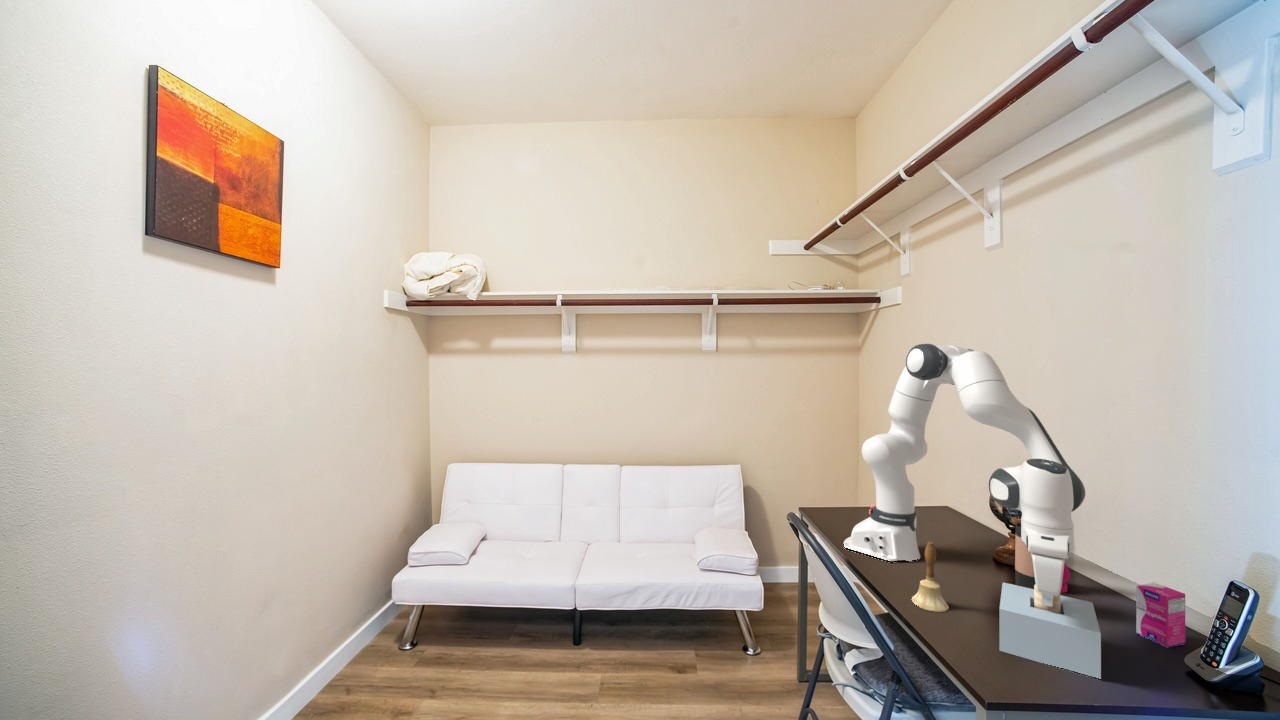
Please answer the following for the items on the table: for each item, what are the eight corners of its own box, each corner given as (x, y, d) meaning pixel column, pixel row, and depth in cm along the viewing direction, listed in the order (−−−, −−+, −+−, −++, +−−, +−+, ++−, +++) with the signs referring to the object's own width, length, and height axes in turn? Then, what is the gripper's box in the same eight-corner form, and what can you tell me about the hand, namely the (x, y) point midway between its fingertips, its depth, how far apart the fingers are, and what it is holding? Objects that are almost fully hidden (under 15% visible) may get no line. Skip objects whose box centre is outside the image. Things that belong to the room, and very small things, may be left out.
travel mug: (1027, 596, 130) (1027, 520, 130) (1060, 610, 123) (1060, 530, 123) (1008, 602, 127) (1008, 524, 127) (1041, 616, 120) (1041, 534, 120)
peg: (1034, 626, 107) (1034, 589, 107) (1034, 617, 111) (1034, 582, 111) (1061, 633, 104) (1060, 595, 104) (1060, 624, 108) (1059, 587, 108)
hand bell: (946, 600, 128) (946, 539, 128) (950, 615, 121) (950, 550, 121) (910, 593, 132) (910, 534, 132) (912, 608, 125) (911, 544, 125)
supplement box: (1134, 634, 112) (1134, 584, 112) (1153, 631, 114) (1153, 581, 114) (1167, 649, 107) (1167, 596, 107) (1186, 645, 108) (1187, 593, 108)
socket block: (999, 650, 106) (999, 608, 106) (1002, 619, 119) (1002, 582, 119) (1100, 680, 96) (1100, 634, 96) (1092, 643, 109) (1092, 602, 109)
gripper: (1028, 520, 118) (1028, 578, 118) (1028, 546, 102) (1028, 613, 102) (1063, 526, 114) (1063, 586, 114) (1068, 553, 98) (1069, 623, 98)
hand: (1046, 599), depth 108 cm, fingers closed on peg, 4 cm apart
